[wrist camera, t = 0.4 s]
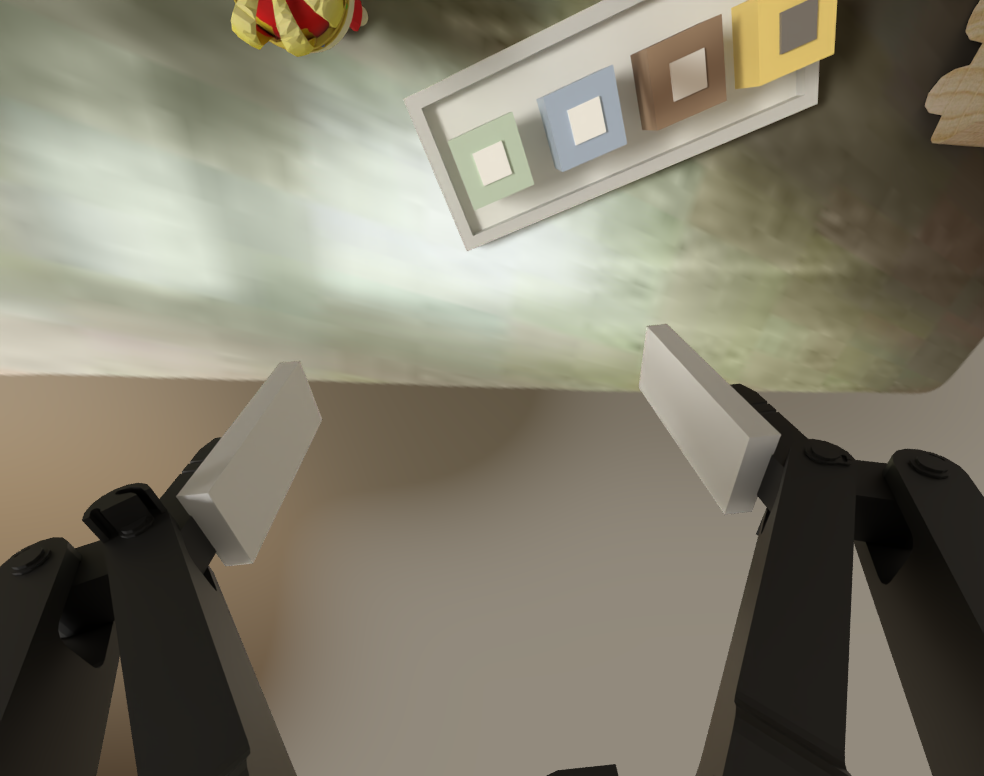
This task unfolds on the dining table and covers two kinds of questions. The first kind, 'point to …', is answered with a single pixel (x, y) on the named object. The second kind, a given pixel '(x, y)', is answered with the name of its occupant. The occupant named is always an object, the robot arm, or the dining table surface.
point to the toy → (297, 23)
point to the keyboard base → (562, 60)
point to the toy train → (962, 95)
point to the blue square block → (583, 119)
